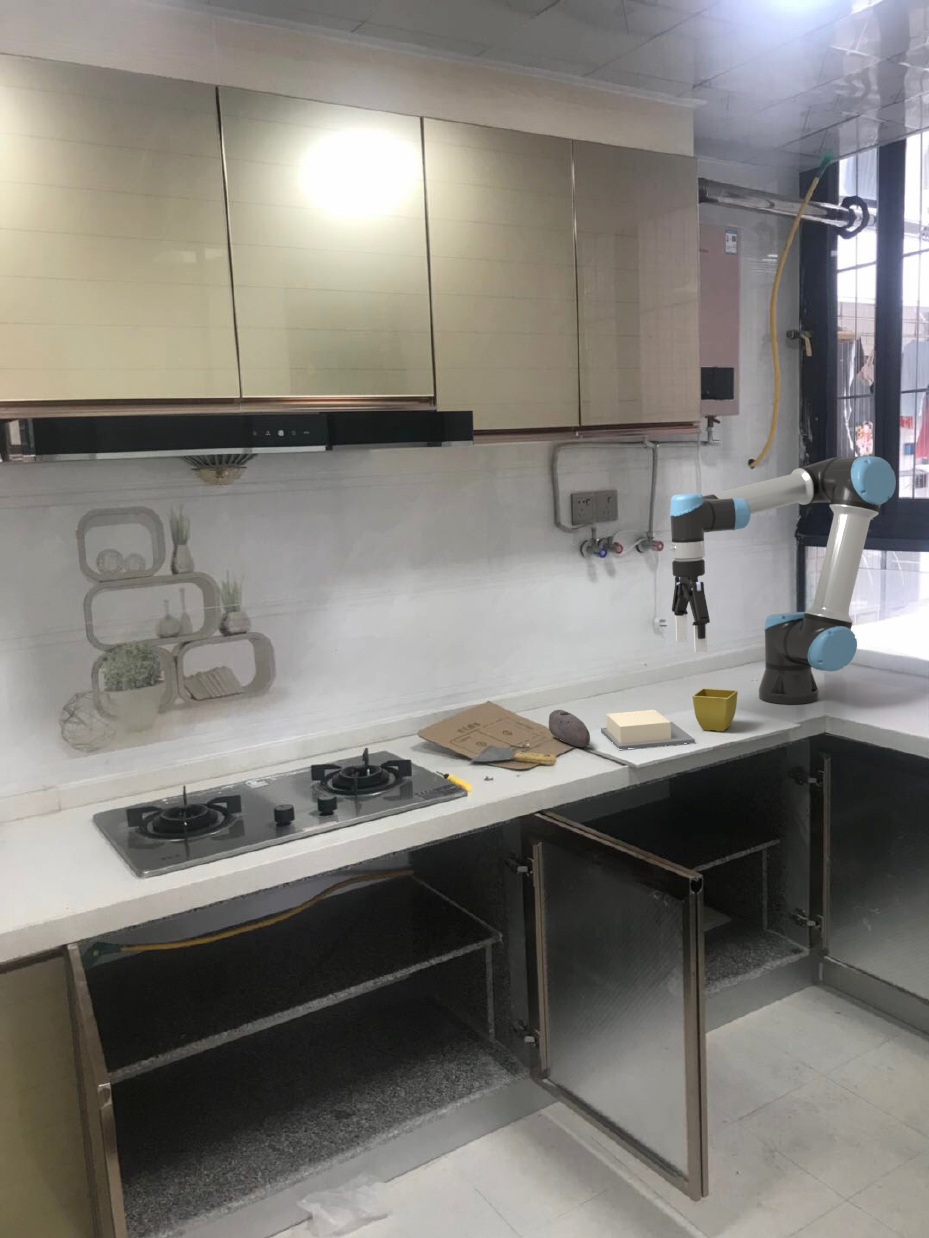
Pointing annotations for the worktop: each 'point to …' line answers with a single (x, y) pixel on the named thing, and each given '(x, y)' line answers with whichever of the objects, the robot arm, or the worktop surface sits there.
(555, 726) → the perforated stone tool
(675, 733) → the display base
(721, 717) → the flower pot
